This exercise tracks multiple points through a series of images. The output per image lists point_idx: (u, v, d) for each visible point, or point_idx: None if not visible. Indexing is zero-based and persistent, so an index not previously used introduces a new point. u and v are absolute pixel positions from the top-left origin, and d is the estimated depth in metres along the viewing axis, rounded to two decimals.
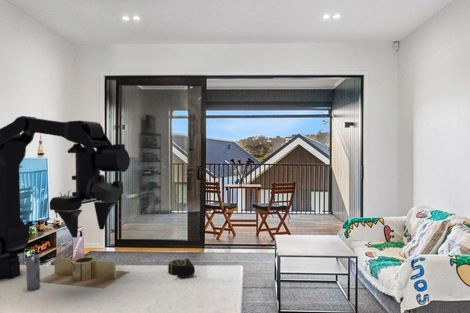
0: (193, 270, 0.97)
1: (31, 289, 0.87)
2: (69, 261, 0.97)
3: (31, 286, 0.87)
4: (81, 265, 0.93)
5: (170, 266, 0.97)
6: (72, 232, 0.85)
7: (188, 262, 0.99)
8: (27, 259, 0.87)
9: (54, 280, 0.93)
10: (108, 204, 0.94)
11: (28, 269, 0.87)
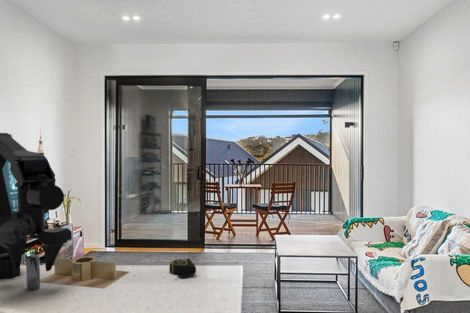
0: (194, 270, 0.97)
1: (31, 289, 0.87)
2: (69, 261, 0.97)
3: (31, 286, 0.87)
4: (81, 265, 0.93)
5: (171, 266, 0.97)
6: None
7: (189, 262, 0.99)
8: (27, 259, 0.87)
9: (54, 280, 0.93)
10: None
11: (28, 269, 0.87)
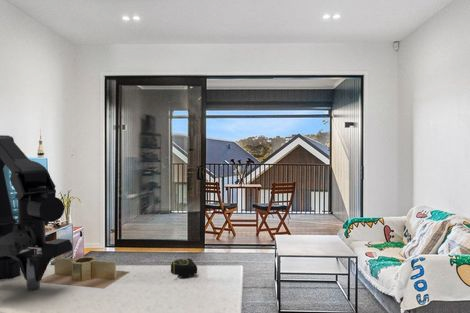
0: (195, 269, 0.97)
1: (31, 289, 0.87)
2: (69, 261, 0.97)
3: (31, 286, 0.87)
4: (81, 265, 0.93)
5: (173, 266, 0.97)
6: None
7: (191, 262, 0.99)
8: (27, 259, 0.87)
9: (54, 280, 0.93)
10: None
11: (28, 269, 0.87)
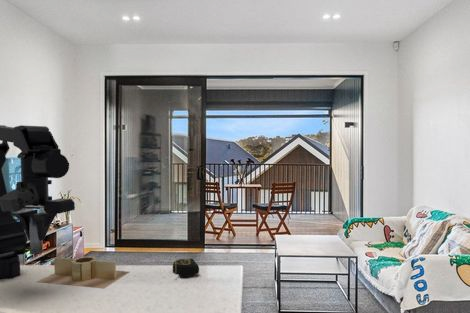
0: (197, 269, 0.97)
1: (34, 248, 0.87)
2: (69, 261, 0.97)
3: (34, 245, 0.87)
4: (81, 265, 0.93)
5: (174, 265, 0.98)
6: None
7: (192, 261, 1.00)
8: (30, 218, 0.87)
9: (54, 280, 0.93)
10: None
11: (31, 228, 0.87)
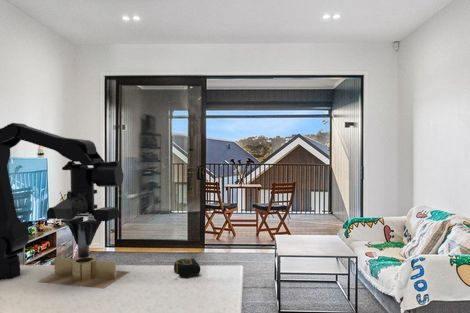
0: (199, 269, 0.98)
1: (82, 252, 0.94)
2: (69, 261, 0.97)
3: (82, 250, 0.94)
4: (81, 265, 0.93)
5: (176, 265, 0.98)
6: None
7: (194, 261, 1.00)
8: (78, 225, 0.94)
9: (54, 280, 0.93)
10: None
11: (79, 234, 0.94)
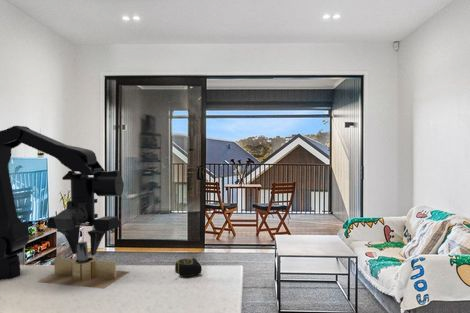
0: (200, 269, 0.98)
1: None
2: (69, 261, 0.97)
3: None
4: (81, 265, 0.93)
5: (177, 265, 0.98)
6: None
7: (195, 261, 1.00)
8: (77, 245, 0.95)
9: (54, 280, 0.93)
10: None
11: (78, 254, 0.94)
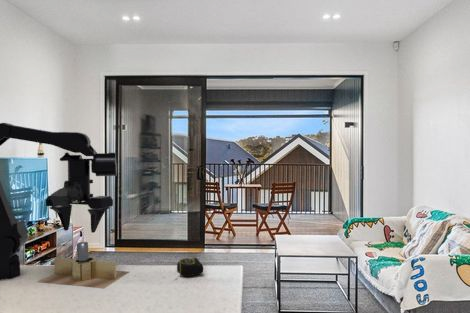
0: (202, 269, 0.98)
1: None
2: (69, 261, 0.97)
3: None
4: (81, 265, 0.93)
5: (179, 265, 0.98)
6: None
7: (197, 261, 1.00)
8: (78, 245, 0.94)
9: (54, 280, 0.93)
10: None
11: (79, 255, 0.94)
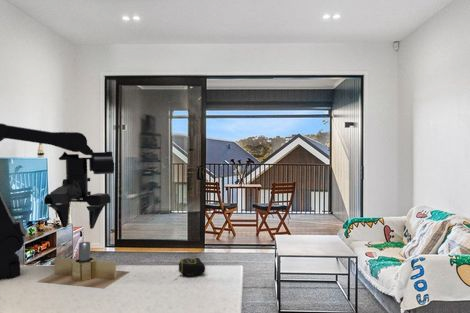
0: (203, 268, 0.98)
1: None
2: (69, 261, 0.97)
3: None
4: (81, 265, 0.93)
5: (181, 265, 0.98)
6: None
7: (198, 261, 1.00)
8: (80, 245, 0.95)
9: (54, 280, 0.93)
10: None
11: (81, 254, 0.95)
